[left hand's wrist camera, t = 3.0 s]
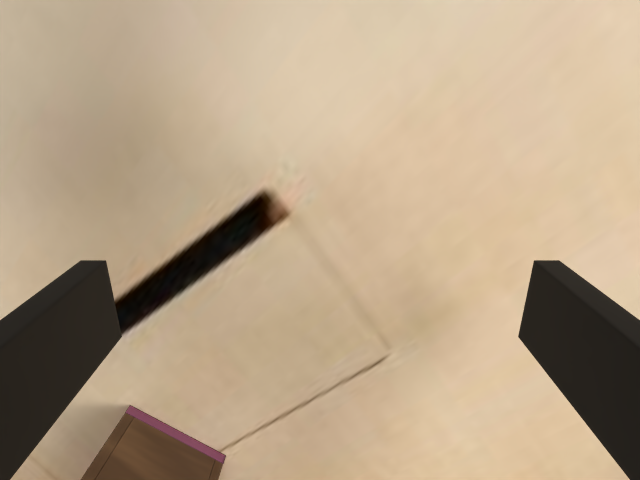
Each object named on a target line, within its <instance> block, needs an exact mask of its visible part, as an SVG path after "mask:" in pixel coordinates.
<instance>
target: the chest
mask: <svg viewBox="0 0 640 480" xmlns="http://www.w3.org/2000/svg"><path fill="white" fill-rule="evenodd" d="M225 457H226V456H225V455H223V454H221V453H220V452H218V451H216V450H214V449H212V448H210V447H208V446H206V445H204V444H203V443H201V442H199V441H197V440H195V439H193V438H191V437H189V436H187V435H185V434H184V433H182V432H180V431H178V430H176V429H174V428H172V427H170V426H168V425H166V424H165V423H163V422H161V421H159V420H157V419H155V418H153V417H151V416H149V415H147V414H146V413H144V412H142V411H140V410H138V409H136V408H134V407H132V406H129V408H128V409H127V411H126V412H125V414H124V416H123V417H122V419H121V420H120V422H119V423H118V425H117V426H116V428H115V429H114V431H113V432H112V434H111V435H110V437H109V438H108V440H107V441H106V443H105V444H104V446H103V447H102V449H101V450H100V452H99V453H98V455H97V456H96V458H95V459H94V461H93V462H92V464H91V465H90V467H89V468H88V470H87V471H86V473H85V474H84V476H83V477H82V479H81V480H218V478H219V475H220V472H221V469H222V465H223V463H224V460H225Z"/></svg>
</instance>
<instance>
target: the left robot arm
mask: <svg viewBox="0 0 640 480" xmlns="http://www.w3.org/2000/svg"><path fill="white" fill-rule="evenodd" d="M121 337H122V336H121V331H120V326H119V321H118V317H117V312H116V307H115V302H114V297H113V292H112V288H111V283H110V278H109V273H108V268H107V263H106V261H80V262H78V263H77V264H76V265H74V266H73V267H72V268H70V269H69V270H67V271H66V272H65V273H63V274H62V275H61V276H59V277H58V278H57V279H55V280H54V281H53V282H51V283H50V284H49V285H47V286H46V287H45V288H43V289H42V290H41V291H39V292H38V293H37V294H35V295H34V296H32V297H31V298H30V299H28V300H27V301H26V302H24V303H23V304H22V305H20V306H19V307H18V308H16V309H15V310H14V311H12V312H11V313H10V314H8V315H7V316H6V317H4V318H3V319H1V320H0V480H10V479H11V478H12V476H13V475H14V474H15V473H16V471H17V470H18V469H19V467H20V466H21V465H22V464H23V462H24V461H25V460H26V458H27V457H28V456H29V455H30V453H31V452H32V451H33V450H34V448H35V447H36V446H37V444H38V443H39V442H40V441H41V439H42V438H43V437H44V435H45V434H46V433H47V432H48V430H49V429H50V428H51V427H52V425H53V424H54V423H55V421H56V420H57V419H58V418H59V416H60V415H61V414H62V412H63V411H64V410H65V409H66V407H67V406H68V405H69V403H70V402H71V401H72V400H73V398H74V397H75V396H76V395H77V393H78V392H79V391H80V389H81V388H82V387H83V386H84V384H85V383H86V382H87V380H88V379H89V378H90V377H91V375H92V374H93V373H94V372H95V370H96V369H97V368H98V366H99V365H100V364H101V363H102V361H103V360H104V359H105V357H106V356H107V355H108V354H109V352H110V351H111V350H112V348H113V347H114V346H115V345H116V343H117V342H118V341H119V340H120V338H121ZM518 337H519V338H520V340H521V341H522V342H523V343H524V345H525V346H526V347H527V348H528V350H529V351H530V352H531V354H532V355H533V356H534V357H535V359H536V360H537V361H538V363H539V364H540V365H541V366H542V368H543V369H544V370H545V372H546V373H547V374H548V375H549V377H550V378H551V379H552V380H553V382H554V383H555V384H556V386H557V387H558V388H559V389H560V391H561V392H562V393H563V395H564V396H565V397H566V398H567V400H568V401H569V402H570V403H571V405H572V406H573V407H574V409H575V410H576V411H577V412H578V414H579V415H580V416H581V418H582V419H583V420H584V421H585V423H586V424H587V425H588V427H589V428H590V429H591V430H592V432H593V433H594V434H595V435H596V437H597V438H598V439H599V441H600V442H601V443H602V444H603V446H604V447H605V448H606V450H607V451H608V452H609V453H610V455H611V456H612V457H613V459H614V460H615V461H616V462H617V464H618V465H619V466H620V467H621V469H622V470H623V471H624V473H625V474H626V475H627V476H628V478H629V479H630V480H640V320H639V319H637V318H636V317H634V316H633V315H632V314H630V313H629V312H628V311H626V310H625V309H624V308H622V307H621V306H620V305H618V304H617V303H616V302H614V301H613V300H612V299H610V298H609V297H608V296H606V295H605V294H603V293H602V292H601V291H599V290H598V289H597V288H595V287H594V286H593V285H591V284H590V283H589V282H587V281H586V280H585V279H583V278H582V277H581V276H579V275H578V274H577V273H575V272H574V271H573V270H571V269H570V268H568V267H567V266H566V265H564V264H563V263H562V262H560V261H534V263H533V268H532V273H531V278H530V283H529V288H528V292H527V297H526V302H525V307H524V312H523V317H522V321H521V326H520V331H519V336H518Z"/></svg>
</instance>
